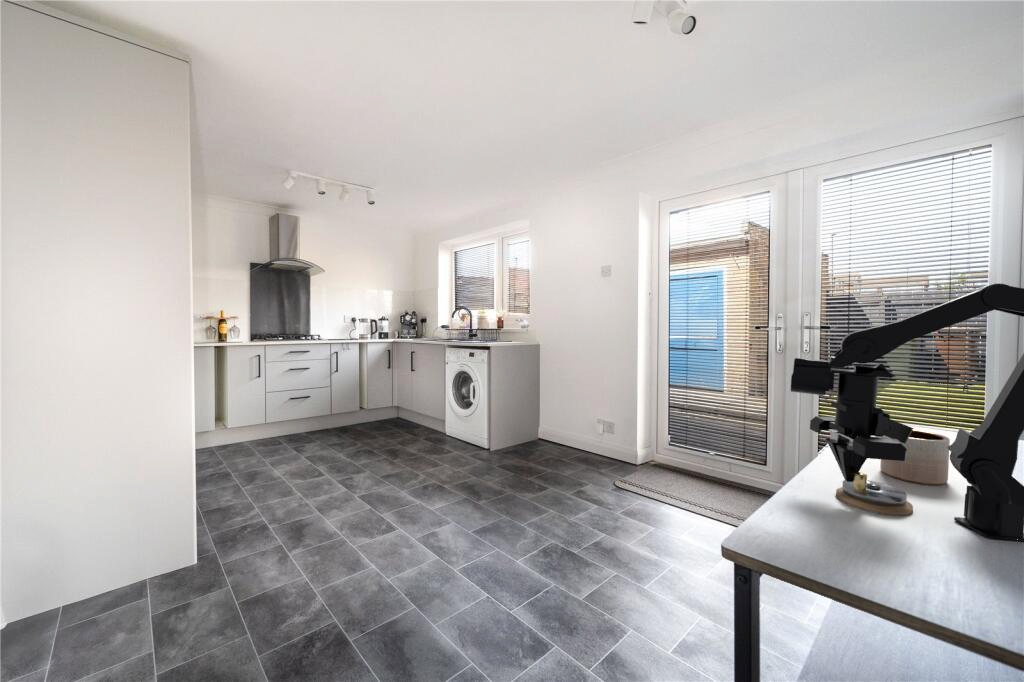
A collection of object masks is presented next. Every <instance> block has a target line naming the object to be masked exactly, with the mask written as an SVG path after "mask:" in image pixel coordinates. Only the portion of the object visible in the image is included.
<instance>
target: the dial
mask: <svg viewBox="0 0 1024 682" xmlns="http://www.w3.org/2000/svg"><path fill="white" fill-rule="evenodd" d="M842 490H843V492H844V493H846V494H847V495H849V496H851V497H854V498H856V499H859V500H862V501H866V502H870V503H874V504H879V505H886V506H902V505H905V504H906V501H908V500H907V499H908V495H907V493H906V492H905V491H904V490H902V489H900V488H898V487H895V486H892V485H890V484H886V483H883V482H879V481H873V480H870V479H869V480H868V474H866V473H864V472H860V471H859V472H855V473H854V481H853V482H847V481H846V480H845V479H844V480H842Z"/></svg>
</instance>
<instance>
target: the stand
mask: <svg viewBox="0 0 1024 682" xmlns="http://www.w3.org/2000/svg"><path fill="white" fill-rule="evenodd" d="M835 496H836V497H837V499H838V500H839V501H841V502H842V503H845V504H847V505H849V506H851V507H854V508H857V509H860V510H864V511H867V512H871V513H876V514H880V515H886V516H902V517H903V516H909V515H912V514H913V513H914V511H913V510H914V505H913V504H912V503H910V501H908V500H907V501H906V504H905V505H902V506H886V505H879V504H874V503H870V502H866V501H862V500H859V499H856V498H854V497H851V496H849V495H847V494H846V493H844V492H843V490H842V487H838V488H837V489H836V491H835Z"/></svg>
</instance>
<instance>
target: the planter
mask: <svg viewBox="0 0 1024 682" xmlns="http://www.w3.org/2000/svg"><path fill="white" fill-rule="evenodd" d="M883 438H889V439H892V438H890V437H887V436H885V435H883ZM892 440H894V441H896V442H899V440H897V439H892ZM899 443H901V444H902V445H903V446H904V447H905V448H906V449H907V456H906V461H896V460H883V459H880V470H881V472H883V473H884V474H885V475H887V476H888V477H891V478H894V479H897V480H900V481H904V482H907V483H913V484H918V485H919V484H920V485H925V486H940V485H944V484H946V483H947V482H948V480H949V467H950V466H949V460H950V450H949V449H948V448H947V447H948V446H950V445H951V439H950V438H949V437H948V436H945V435H943V434H939V433H935V432H930V431H927V430H920V429H919V430H918V429H913V430H912V432H911V434H910V436H909V438H908V440H907V442H906V443H905V444H904V443H902V442H899Z"/></svg>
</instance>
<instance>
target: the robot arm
mask: <svg viewBox="0 0 1024 682" xmlns="http://www.w3.org/2000/svg"><path fill="white" fill-rule="evenodd" d="M992 311H998V312H1003V313H1007V314H1009V315H1010V314H1011V315H1014V316H1018V317H1022V318H1024V288H1023V287H1019V286H1018V287H1016V286H1013V285H1009V284H1006V283H994V284H988V285H987V284H986V285H984V286H981V287H979V288H977V289H976V290H975V291H972V292H970V293H968V294H964V295H963V296H960V297H957V298H954V299H951V300H949V301H946V302H944V303H942V304H941V303H940V304H939V305H936V306H933V307H930V308H928V309H926V310H924V311H920V312H918V313H915V314H913V315H910V316H908V317H905V318H903V319H900V320H897V321H894V322H890V323H884V324H882V325H877V326H872V327H869V328H863V329H860V330H856V331H851V332H849V333H847V334H846V335H845V336H843V338H842V340H841V342H840V349H839V350H837V352H835V353H834V354H833V355H831V356H830V358H829V359H827V360H819V359H807V358H803V357H794V360H793V368H792V370H793V371H792V374H791V376H790V377H791V378H790V380H791V381H790V393H800V394H807V395H808V394H810V395H817V396H826V393H829V392H833V391H834V387H835V386H834V384H835V374H838V379H837V380H838V382H837V391H836V392H837V393H836V400H831V401H830V406H831V407H832V408H835V415H834V417H833V416H832V417H830V416H819V415H818V416H816V415H815V416H814V417H812V419H810V421H809V423H810V424H809V430H811V431H813V432H815V433H821V432H822V431H828V432H830V433H829V434H830V435H829V438H825V442H826V443H827V445H828V446H829V448H830V450H831V452H832V454H833V456H834V458H835V461H836V462H837V465H838V467H839V470H840V472H841V474H842V476H843V478H844V480H846V481H847V482H853V481H854V473H855V472H860V470H861V469H862V467H863V465H864V464H865V462H866V461H867V459H871V460H881V459H883V460H896V461H906V456H907V449H906V448H905V447H904V446H903V445H902V444H901V443H899V442H902V443H904V444H905V443H906V442H907V440H908V438H909V436H910V434H911V432H912V430H914V428H913V427H911V426H908V425H907V424H904V423H901V422H899V421H896V420H893V419H891V417H890V416H891V415H890V413H888V412H885V411H884V410H883V408H882V407H880V406H877V398H878V387H879V378H888V379H892V378H894V374H893V373H891V372H890V371H889V370H888V369H887V368H886V366H885V365H884V364H883V363H882V362H879V363H878V364H876V365H875V366H869V365H854V368H853V369H843V368H845V367H848V366H850V365H852V364H855V363H857V364H869V363H872V362H875V361H876V360H878V359H880V358H882V357H884V356H886V355H887V354H889V353H891V352H893V351H896V349H898V348H899V347H901V346H903V345H905V344H906V343H908V342H910V341H913V340H916V339H918V338H921V337H923V336H926V335H929V334H931V333H934V332H937V331H939V330H942V329H946V328H948V327H951V326H953V325H957V324H959V323H962V322H964V321H968V320H970V319H973V318H975V317H979V316H981V315H984V314H986V313H990V312H992ZM840 368H841V369H840ZM984 417H985V418H984V419H983V420H982V422H981V423H980V424H979V425H978V426H977V427H975V428H974V429H973V430H971V431H970V432H969V431H967V430H965V429H963V428H959V429H958V431H957V433H956V436H955V440H953V442H952V443H950V445H949V446H948V447H947V448H948V449H949V452H950V453H949V460H950V463H951V464H952V466H953V468H954V469H956V471H957V472H958V473H959V474H960V476H962V478H964V479H965V481H966V482H967V483H968V484H970V485H966V493H965V495H964V508H963V509H964V510H963V517H959V516H958V517H957V516H955V517H954V518H953V520H954V521H955V522H957V523H959V524H961V525H963V526H965V527H966V528H968V529H970V530H972V531H974V532H976V533H978V534H979V535H982V536H983V537H985V538H988V539H997V540H1005V541H1006V540H1008V541H1010V540H1011V541H1018V540H1024V485H1023V484H1022V483H1021V482H1020V481H1019V480H1017V479H1016V478H1015V477H1014V476H1013V473H1014V470H1015V468H1016V464H1017V460H1018V455H1019V453H1018V452H1019V442H1020V441H1019V440H1020V438H1021V436H1022V434H1023V433H1024V352H1023V353H1022V355H1021V357H1020V358H1019V361H1018V362H1017V363H1016V365H1015V367H1014V368H1013V370H1012V372H1011V374H1010V376H1009V377H1008V378H1007V380H1006V382H1005V384H1004V386H1003V387H1002V389H1001V390H1000V392H999V394H998V396H997V397H996V399H995V401H994V402H993V404H992V406H991V407H990V409H989V411H988V412H987V414H986V415H985V416H984ZM883 435H885V436H887V437H890V438H892V439H897V440H899V442H896V441H894V440H892V439H889V438H883ZM1017 539H1018V540H1017Z"/></svg>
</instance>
